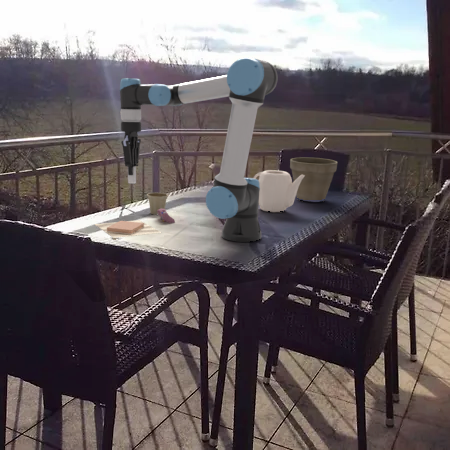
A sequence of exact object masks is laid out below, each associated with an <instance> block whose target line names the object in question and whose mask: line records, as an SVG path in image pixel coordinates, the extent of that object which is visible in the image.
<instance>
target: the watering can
mask: <svg viewBox="0 0 450 450" xmlns="http://www.w3.org/2000/svg"><path fill="white" fill-rule="evenodd" d="M304 176H305V175H300V176H299V177H298V178H297V179H296V180H295V181H294V180H293V177H291V174H290V173H289V172H287V171H284V170H278V169H277V170H275V169H267V170H264V171H259V172H257V173H256V174H254V176H253V177H252V178H253V179H257V177H258V180H259V183H260V191H259V206H258V207H259V208H260V210H262V211H263V212H268V211H270V213H281V212H280V211H283V212H284V210H285V211H286V210H287V208H289V207H290V208H291V207H292V206H293V205H294V202H295V200H296V198H297V195H296V193H297V190H298V187H299V185H300V183H301V180H302V179H303V178H304Z"/></svg>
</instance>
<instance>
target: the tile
mask: <svg viewBox="0 0 450 450" xmlns="http://www.w3.org/2000/svg"><path fill="white" fill-rule="evenodd" d="M128 221H129V220H128ZM128 221H127V220H119V221H116V222H117V223H115V224H113V225H111V226H109V227H107V232H115V233H124V234H133V233H135V232H136V231H138V230H140V229H141V228H143V227H144V223H145V222H144V223H138V222H128Z"/></svg>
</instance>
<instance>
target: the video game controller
mask: <svg viewBox="0 0 450 450" xmlns="http://www.w3.org/2000/svg"><path fill="white" fill-rule="evenodd" d="M157 212H158V214H157V215H156V216H158V217H160V219H161V220H162V222H164V223H167V224H174V223H176V221H175V218H173V217H172V216H170V215H169V213H168V212H167V210H166V208H165V209H162V208H161V209H159V210H157Z"/></svg>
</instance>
